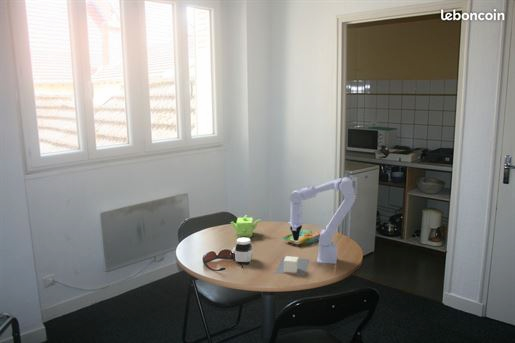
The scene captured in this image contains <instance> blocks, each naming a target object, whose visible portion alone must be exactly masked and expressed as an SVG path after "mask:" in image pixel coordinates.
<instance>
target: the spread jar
mask: <svg viewBox="0 0 515 343" xmlns="http://www.w3.org/2000/svg"><path fill="white" fill-rule="evenodd" d="M231 252H232V253H234V254H235V258H234V259H235V263H237V264H240V265H249V264H250V263H251V262H252V259H253V245H252V243H251V238H248V237H242V238H238V237H237V239H236V245H235V246H234V247H233V248H232V249H231ZM231 252H230V253H231Z"/></svg>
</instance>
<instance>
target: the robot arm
mask: <svg viewBox="0 0 515 343" xmlns="http://www.w3.org/2000/svg"><path fill="white" fill-rule="evenodd" d="M330 190H335V191H338V192H339V191H340V192H341V194H342V197H343V200H342V202H341V203H340V205H339V207H338V209H336V211H335V213H334V214H333V216H332V218H331V220H330V221H329V223H328V224H327V225H326V226H325V227H324V228H323V229H321V231H320V233H319V234H320V237H319V240H318V250H317V251H318V255H317V261H316V263H321V264H322V263H323V264H335V265H336V264H337V261H338V244H335V243H334V242H333V237H334V235H335V233H336V231H337V229H338V228H339V226H340V225H341V223H342V222H343V220H344V218H346V215H347V213H349V212H350V211H349V210H350V209H351V208H352V206H353V205H354V203H355V202H356V201H355V200H356V193H355V184H354V181H353V180H352V178H350V177H348V176H344V177H342V178H341V177H339V178H336V179H333V180H331V181H328V182H325V183H322V184H320V185H317V186H314V185H309V184H307V185H306V187H303V188H298V189H296V190H293V191H292V192H291V194H290V195H289V200H290V221H288V222H287V224H288V225H290V226H289V230H290V231H291V234H293V239H294V240H296V241H298V239H299V234H300V231H302V228H303V205H302V202H303V201H306V200H309V199H312V198H315V197H317V195H318V194H319V193H323V192H326V191H330Z"/></svg>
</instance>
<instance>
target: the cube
mask: <svg viewBox="0 0 515 343" xmlns="http://www.w3.org/2000/svg"><path fill="white" fill-rule="evenodd" d="M298 258H299V256H290V255H289V256H288V255H285V259H284V273H292V274H297V271H298Z"/></svg>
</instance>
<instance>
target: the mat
mask: <svg viewBox="0 0 515 343" xmlns="http://www.w3.org/2000/svg"><path fill="white" fill-rule="evenodd" d="M285 257H286V256H285ZM285 257H284V256H283V257H281V259H280V260H279V263H278V266H277V267H276V271H275V273H274V274H278V275H280V274H282V275H292V276H294V275H295V276H306V273H307V271H308V270H307V269H308V266H309V262H310V259H309V258H299V257H298V271H297V274H292V273H284V259H285Z"/></svg>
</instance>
